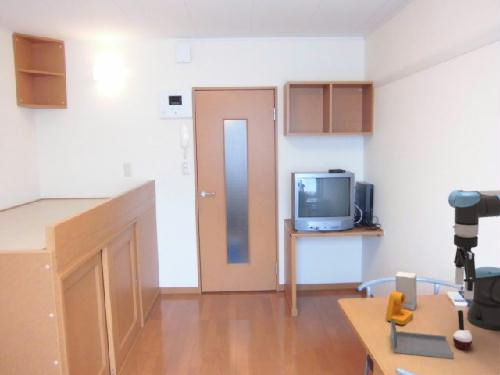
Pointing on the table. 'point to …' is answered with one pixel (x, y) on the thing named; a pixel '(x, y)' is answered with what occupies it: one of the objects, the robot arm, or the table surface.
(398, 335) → the grey dustpan
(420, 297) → the table surface
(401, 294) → the bracket
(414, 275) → the skincare box
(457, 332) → the cocoa
